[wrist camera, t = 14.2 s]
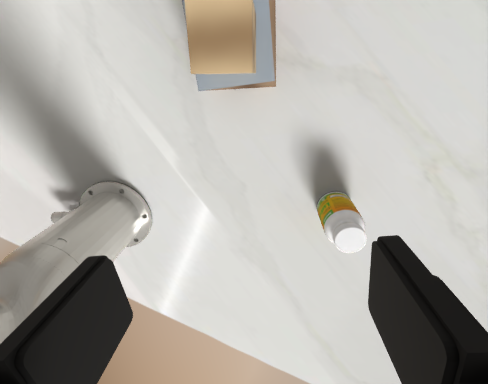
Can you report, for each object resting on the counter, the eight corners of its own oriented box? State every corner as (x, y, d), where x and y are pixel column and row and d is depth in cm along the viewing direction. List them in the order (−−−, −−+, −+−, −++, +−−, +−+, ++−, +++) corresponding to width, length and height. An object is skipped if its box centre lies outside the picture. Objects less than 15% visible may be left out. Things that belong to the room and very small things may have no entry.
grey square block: (208, 89, 32) (198, 91, 28) (195, 12, 29) (182, 0, 24) (274, 80, 31) (274, 80, 26) (267, -1, 28) (267, -16, 23)
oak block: (203, 16, 25) (184, -1, 19) (256, 14, 24) (251, -4, 19) (207, 74, 27) (191, 73, 21) (256, 73, 26) (252, 72, 21)
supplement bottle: (319, 189, 41) (333, 219, 32) (354, 192, 41) (378, 224, 32) (313, 218, 43) (325, 255, 34) (346, 222, 43) (366, 260, 34)
